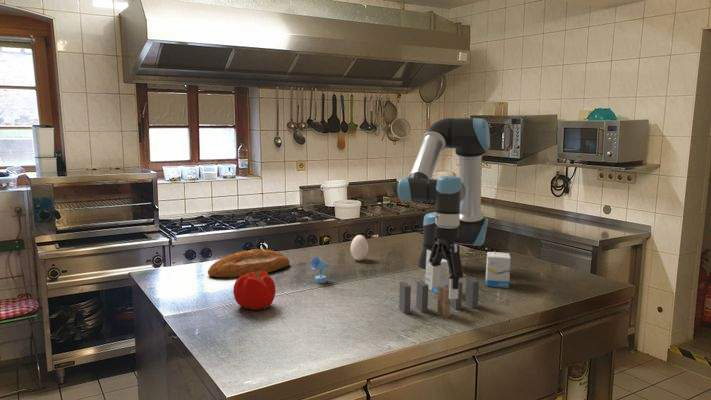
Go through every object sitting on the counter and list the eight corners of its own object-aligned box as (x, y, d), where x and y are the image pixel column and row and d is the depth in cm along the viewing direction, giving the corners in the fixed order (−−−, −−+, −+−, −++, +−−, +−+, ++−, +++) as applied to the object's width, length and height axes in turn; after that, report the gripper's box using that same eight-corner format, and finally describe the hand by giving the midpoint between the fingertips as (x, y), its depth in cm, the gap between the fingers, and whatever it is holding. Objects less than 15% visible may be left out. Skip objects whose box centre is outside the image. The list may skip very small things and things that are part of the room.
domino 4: (465, 303, 178) (466, 277, 177) (470, 302, 179) (472, 277, 178) (472, 308, 174) (473, 282, 172) (477, 307, 174) (479, 281, 173)
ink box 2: (509, 288, 196) (511, 257, 194) (486, 286, 197) (487, 256, 196) (507, 281, 204) (509, 252, 202) (485, 279, 206) (486, 251, 204)
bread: (200, 272, 210) (200, 251, 209) (279, 260, 230) (279, 241, 229) (216, 284, 196) (215, 260, 195) (299, 270, 216) (299, 249, 215)
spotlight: (317, 284, 196) (330, 281, 201) (317, 258, 195) (331, 255, 199) (308, 281, 200) (322, 278, 204) (308, 256, 198) (322, 253, 203)
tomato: (257, 317, 162) (256, 281, 161) (224, 308, 170) (223, 273, 168) (284, 305, 174) (284, 271, 172) (253, 297, 181) (252, 264, 179)
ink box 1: (448, 292, 190) (450, 253, 187) (437, 294, 187) (439, 254, 185) (435, 285, 197) (437, 247, 195) (424, 287, 195) (425, 249, 193)
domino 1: (399, 308, 172) (399, 282, 171) (404, 308, 173) (405, 281, 172) (404, 313, 168) (405, 286, 166) (410, 313, 168) (410, 286, 167)
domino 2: (416, 307, 174) (416, 281, 173) (421, 306, 174) (422, 280, 173) (421, 312, 169) (422, 285, 168) (427, 312, 170) (428, 285, 168)
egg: (371, 259, 233) (372, 234, 231) (362, 263, 226) (362, 237, 225) (356, 257, 237) (356, 232, 236) (346, 260, 231) (347, 235, 229)
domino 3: (449, 304, 177) (450, 278, 176) (454, 304, 177) (455, 278, 176) (455, 309, 172) (456, 283, 171) (461, 309, 173) (462, 282, 171)
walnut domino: (437, 312, 169) (438, 285, 168) (442, 311, 170) (444, 285, 169) (443, 317, 165) (444, 290, 163) (449, 317, 165) (450, 290, 164)
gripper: (420, 219, 174) (418, 281, 177) (453, 234, 150) (450, 305, 153) (441, 219, 176) (439, 280, 179) (477, 233, 152) (473, 303, 155)
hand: (444, 291), depth 166 cm, fingers open, 13 cm apart
